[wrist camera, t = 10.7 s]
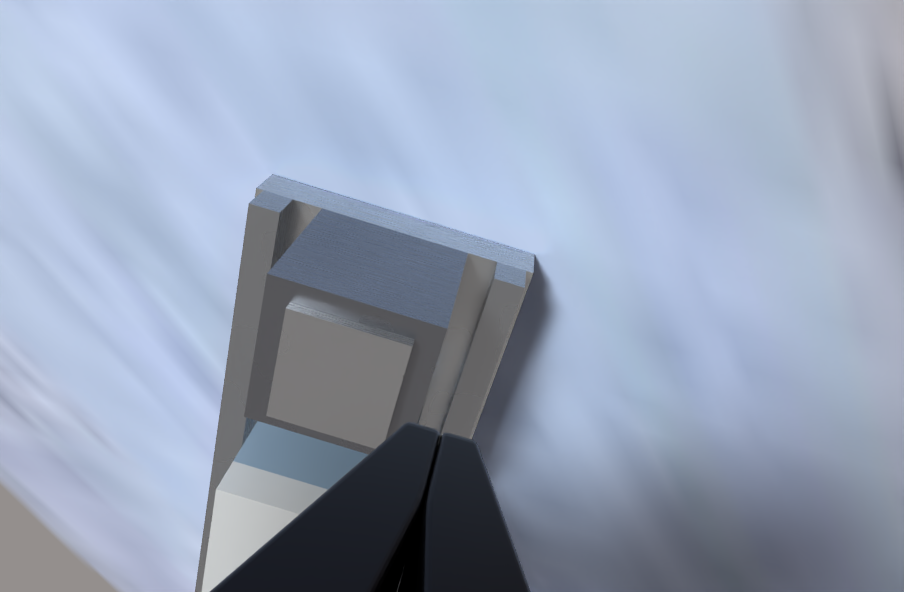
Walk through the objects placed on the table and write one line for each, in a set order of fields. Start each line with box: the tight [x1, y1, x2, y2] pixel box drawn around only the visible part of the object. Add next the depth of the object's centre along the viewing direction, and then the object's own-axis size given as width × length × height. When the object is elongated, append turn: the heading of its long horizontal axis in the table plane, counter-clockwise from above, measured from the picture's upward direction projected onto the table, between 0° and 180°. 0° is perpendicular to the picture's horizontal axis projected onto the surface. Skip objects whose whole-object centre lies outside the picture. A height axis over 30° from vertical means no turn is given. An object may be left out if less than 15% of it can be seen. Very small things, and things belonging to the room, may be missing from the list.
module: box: [202, 414, 421, 592], centre depth 20 cm, size 4×6×5 cm
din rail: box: [195, 174, 535, 592], centre depth 21 cm, size 8×17×6 cm, turn 164°
